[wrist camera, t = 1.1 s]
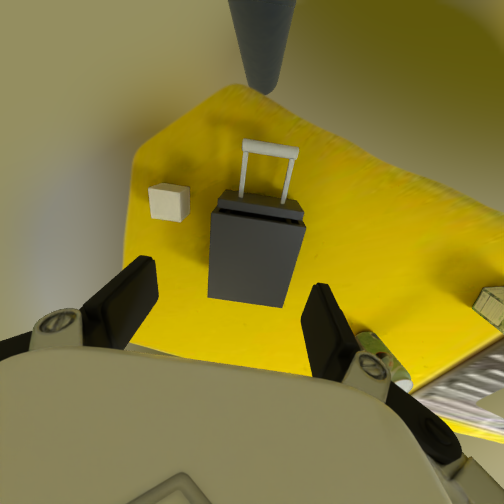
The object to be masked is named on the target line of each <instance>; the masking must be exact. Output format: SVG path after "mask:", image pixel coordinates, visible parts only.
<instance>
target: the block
mask: <svg viewBox="0 0 504 504" xmlns="http://www.w3.org/2000/svg"><path fill="white" fill-rule="evenodd" d="M148 192H149V201H150V210H151V218H156V219H163V220H169V221H176V222H181V221H182V220H183V219H184V218H186V217H187V216H188V215H189V214H190V187H186V186H180V185H173V184H167V183H160V184H158V185H155V186H152V187H149V188H148Z"/></svg>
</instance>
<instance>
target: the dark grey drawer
mask: <svg viewBox="0 0 504 504" xmlns="http://www.w3.org/2000/svg"><path fill="white" fill-rule="evenodd" d="M242 151H244V152H243V160H242V169H241V178H240V188H239V191H233V190H227V189H226V190H225V191H224V192H223V194H222V195H221V196H220V197H219V198H218V208H224V209H227V210H226V212H225V213H229V214H235V215H241V216H248V217H254V218H261V219H267V220H273V221H280V222H286V223H292V222H291V219H294V220H301V221H302V219H303V215H304V211H303V210H302V208H301V206H300V205H299V203H298V202H297V201H296V200H290V199H286V196H287V191H288V187H289V182H290V178H291V174H292V169H293V165H294V159H295V160H296V159H297V156H298V152H299V148H298V147H293V146H287V145H281V144H275V143H269V142H263V141H257V140H251V139H245V138H244V139H243V143H242ZM248 152H252V153H258V154H264V155H270V156H276V157H282V158H289V164H288V169H287V173H286V178H285V182H284V187H283V192H282V196H281V198H277V197H271V196H265V195H259V194H252V193H246V192H244V184H245V176H246V168H247V159H248Z"/></svg>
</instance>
